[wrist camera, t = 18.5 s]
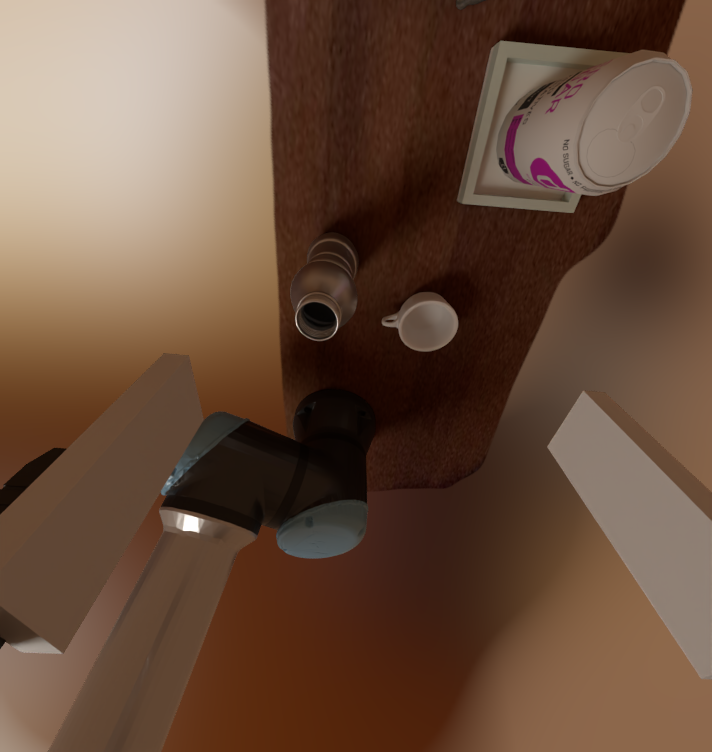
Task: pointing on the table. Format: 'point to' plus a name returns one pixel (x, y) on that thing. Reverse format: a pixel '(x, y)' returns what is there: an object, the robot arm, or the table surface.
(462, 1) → the dog figurine
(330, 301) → the plastic bottle
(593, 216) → the table surface
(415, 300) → the teacup
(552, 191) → the can tray
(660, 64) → the supplement can
